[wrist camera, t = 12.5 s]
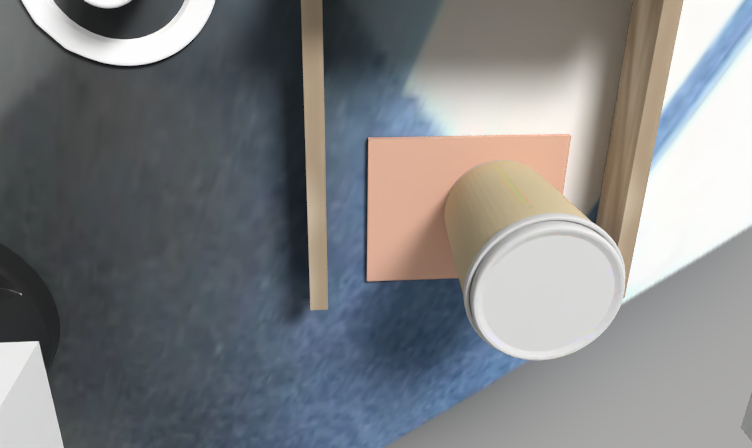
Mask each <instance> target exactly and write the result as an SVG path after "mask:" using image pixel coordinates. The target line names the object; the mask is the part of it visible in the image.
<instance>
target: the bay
mask: <svg viewBox="0 0 752 448" xmlns="http://www.w3.org/2000/svg"><path fill="white" fill-rule="evenodd" d="M682 4H683V0H633V4H632V10H631V16H630V22H629V28H628V34H627V40H626V46H625V52H624V58H623V64H622V70H621V76H620V82H619V88H618V94H617V100H616V105H615V111H614V117H613V123H612V129H611V135H610V141H609V147H608V153H607V159H606V165H605V171H604V177H603V183H602V189H601V195H600V201H599V207H598V213H597V219H596V225H597V226H599V227H600V228H601V229H603V230H604V231H605V232H606V233H607V234H608V235H609V236H610V237H611V238H612V239H613V241H614V242H615V243H616V245H617V247H618V248H619V250H620V252H621V255H622V257H623V261H624V265H625V291H624V296H623V298H624V297H625V292H626V287H627V282H628V277H629V272H630V267H631V262H632V257H633V252H634V247H635V242H636V237H637V232H638V227H639V222H640V216H641V211H642V206H643V201H644V196H645V191H646V186H647V181H648V176H649V171H650V166H651V161H652V156H653V151H654V146H655V141H656V136H657V131H658V126H659V121H660V116H661V110H662V105H663V100H664V95H665V90H666V85H667V80H668V75H669V70H670V65H671V60H672V55H673V50H674V45H675V40H676V35H677V30H678V25H679V20H680V15H681V10H682ZM301 22H302V55H303V87H304V119H305V151H306V183H307V215H308V248H309V280H310V310H323V309H328V286H327V231H326V176H325V121H324V66H323V11H322V0H301Z"/></svg>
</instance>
